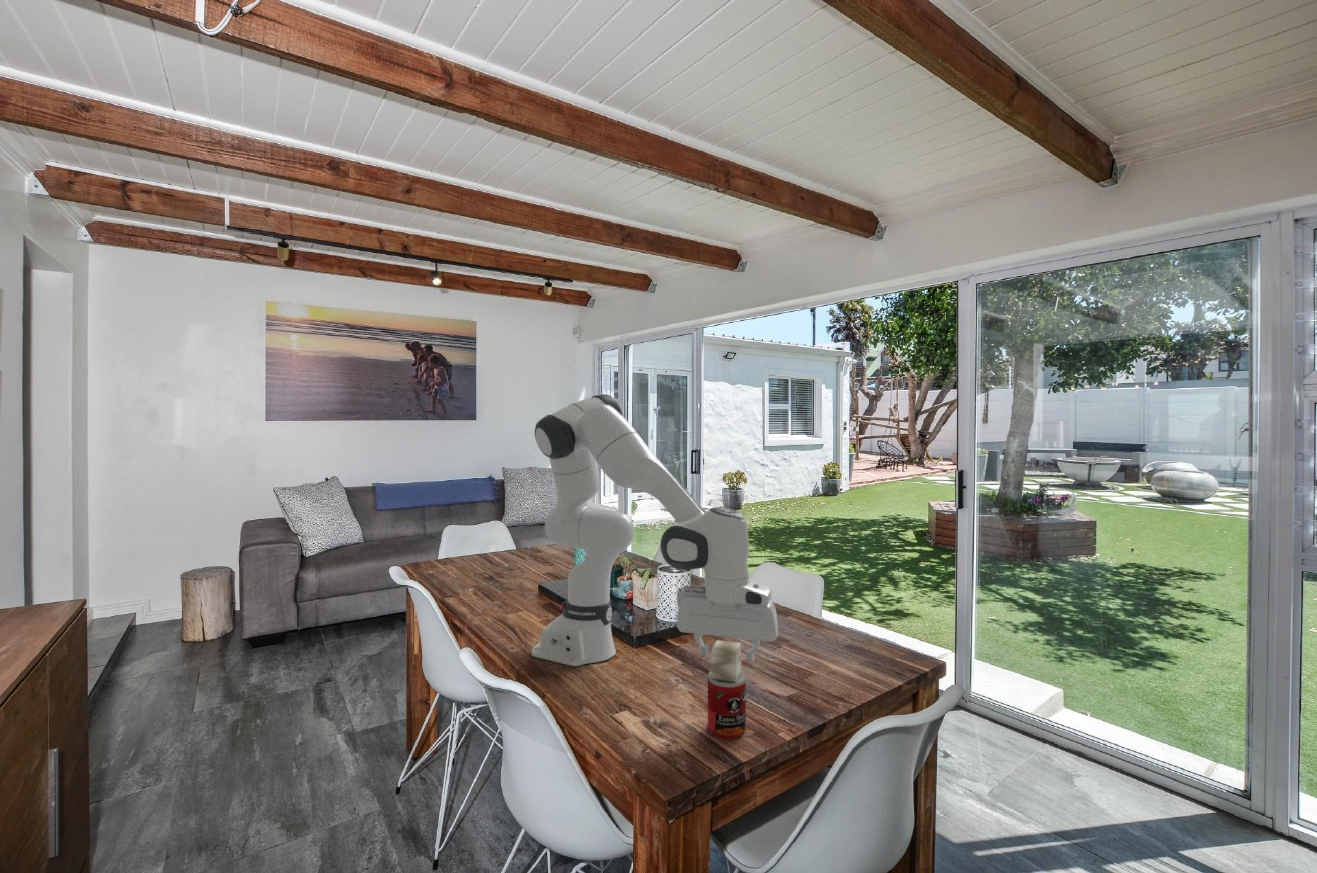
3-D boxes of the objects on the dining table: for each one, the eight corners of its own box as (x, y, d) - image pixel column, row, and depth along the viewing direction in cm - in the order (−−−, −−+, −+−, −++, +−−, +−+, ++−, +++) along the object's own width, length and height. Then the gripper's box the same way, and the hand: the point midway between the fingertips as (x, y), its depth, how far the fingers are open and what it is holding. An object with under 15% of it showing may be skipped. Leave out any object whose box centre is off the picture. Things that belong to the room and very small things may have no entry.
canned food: (715, 742, 115) (715, 686, 115) (702, 722, 123) (702, 669, 123) (752, 736, 117) (752, 681, 117) (736, 717, 125) (736, 665, 125)
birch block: (711, 678, 118) (711, 648, 118) (716, 669, 123) (717, 640, 123) (736, 682, 117) (736, 651, 117) (740, 672, 121) (741, 643, 121)
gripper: (672, 589, 120) (672, 657, 120) (775, 598, 113) (775, 670, 114) (681, 581, 126) (681, 646, 126) (779, 589, 119) (778, 657, 120)
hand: (726, 657), depth 120 cm, fingers open, 8 cm apart
